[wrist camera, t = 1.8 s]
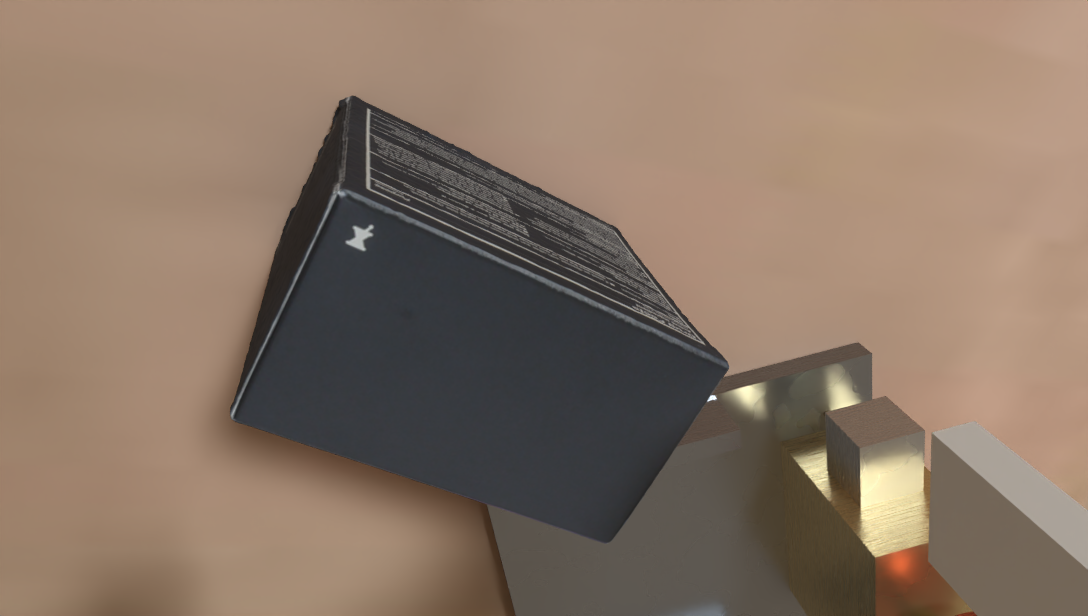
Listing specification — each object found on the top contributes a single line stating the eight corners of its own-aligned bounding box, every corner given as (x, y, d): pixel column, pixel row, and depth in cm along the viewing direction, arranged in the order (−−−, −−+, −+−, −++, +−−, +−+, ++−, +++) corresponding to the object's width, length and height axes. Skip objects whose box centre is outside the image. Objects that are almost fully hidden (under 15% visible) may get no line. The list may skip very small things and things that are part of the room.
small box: (264, 265, 28) (209, 431, 18) (344, 87, 26) (331, 170, 16) (537, 375, 31) (609, 562, 22) (624, 226, 30) (743, 359, 20)
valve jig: (536, 693, 38) (590, 936, 29) (471, 443, 32) (513, 648, 23) (865, 597, 39) (1018, 797, 30) (863, 341, 33) (1051, 494, 24)
